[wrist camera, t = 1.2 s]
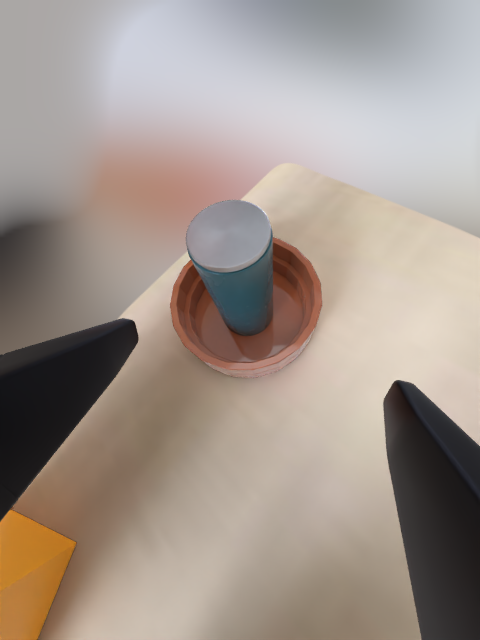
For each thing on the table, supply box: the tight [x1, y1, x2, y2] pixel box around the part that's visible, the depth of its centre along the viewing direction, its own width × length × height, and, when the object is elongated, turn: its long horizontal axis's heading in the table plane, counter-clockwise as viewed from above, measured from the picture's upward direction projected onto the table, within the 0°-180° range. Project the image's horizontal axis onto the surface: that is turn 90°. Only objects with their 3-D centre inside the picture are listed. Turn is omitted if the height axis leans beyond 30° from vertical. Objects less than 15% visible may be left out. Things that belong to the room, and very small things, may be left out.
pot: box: [170, 238, 322, 378], centre depth 23 cm, size 13×13×4 cm
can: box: [186, 200, 273, 336], centre depth 19 cm, size 5×5×12 cm
